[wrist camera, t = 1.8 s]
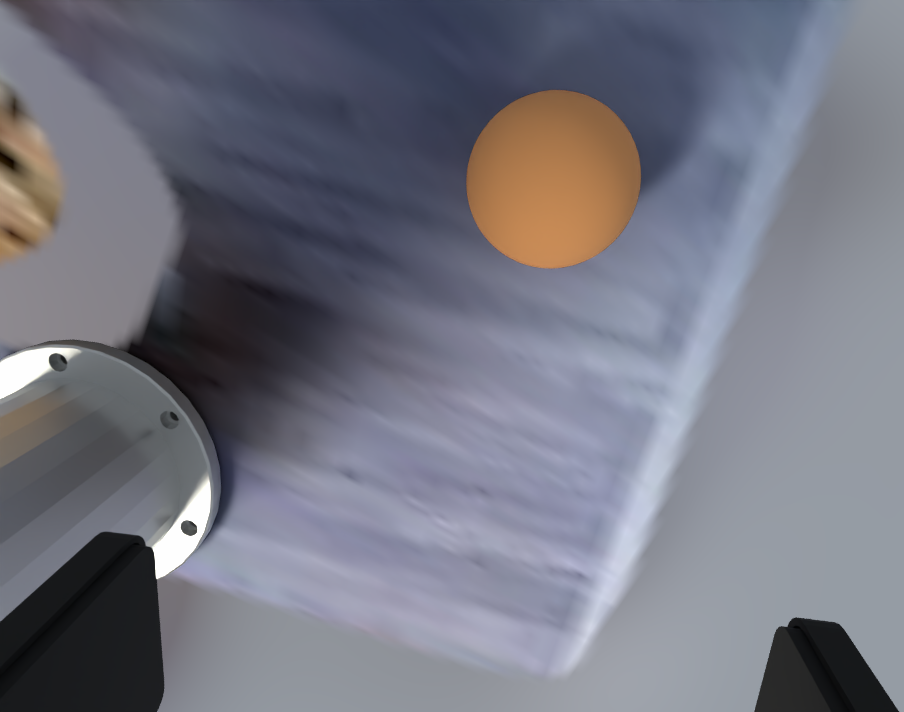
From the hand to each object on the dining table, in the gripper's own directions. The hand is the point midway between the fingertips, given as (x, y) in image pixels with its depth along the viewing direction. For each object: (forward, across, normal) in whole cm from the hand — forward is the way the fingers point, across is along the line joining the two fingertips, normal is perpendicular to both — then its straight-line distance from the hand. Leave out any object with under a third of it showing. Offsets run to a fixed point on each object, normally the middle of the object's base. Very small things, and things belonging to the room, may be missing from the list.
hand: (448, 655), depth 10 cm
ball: (+16, -1, -6) cm, 17 cm away
